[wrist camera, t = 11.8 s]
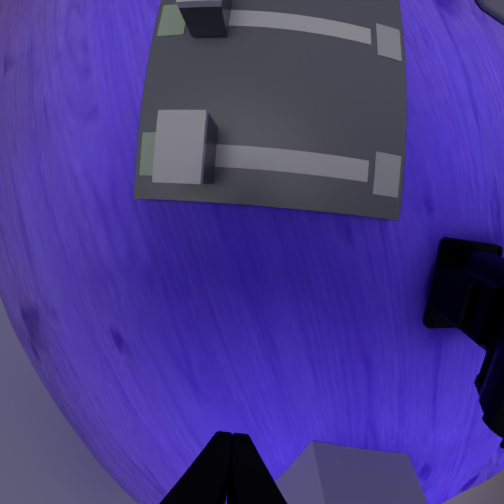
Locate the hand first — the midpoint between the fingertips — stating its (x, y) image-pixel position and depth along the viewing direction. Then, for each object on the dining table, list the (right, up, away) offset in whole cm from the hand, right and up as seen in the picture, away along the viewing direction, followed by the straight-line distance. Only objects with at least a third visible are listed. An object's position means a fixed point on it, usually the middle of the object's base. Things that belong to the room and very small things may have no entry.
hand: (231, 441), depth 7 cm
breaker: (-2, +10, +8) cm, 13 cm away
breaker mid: (-2, +18, +6) cm, 20 cm away
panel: (+2, +18, +8) cm, 20 cm away
